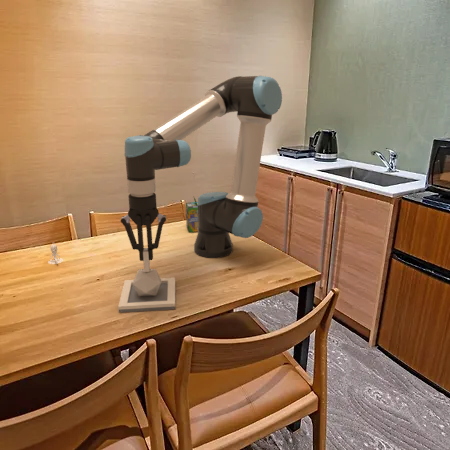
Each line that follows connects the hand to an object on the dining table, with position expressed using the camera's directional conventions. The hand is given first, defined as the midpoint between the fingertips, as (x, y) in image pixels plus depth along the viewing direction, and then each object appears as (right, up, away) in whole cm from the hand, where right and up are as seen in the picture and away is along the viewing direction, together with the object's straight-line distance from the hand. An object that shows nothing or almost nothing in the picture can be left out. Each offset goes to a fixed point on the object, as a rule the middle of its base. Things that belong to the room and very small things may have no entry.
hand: (147, 269), depth 116 cm
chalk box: (+11, +11, +60) cm, 62 cm away
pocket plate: (0, -9, +3) cm, 9 cm away
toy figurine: (-38, -1, +26) cm, 46 cm away
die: (0, -8, +3) cm, 8 cm away
